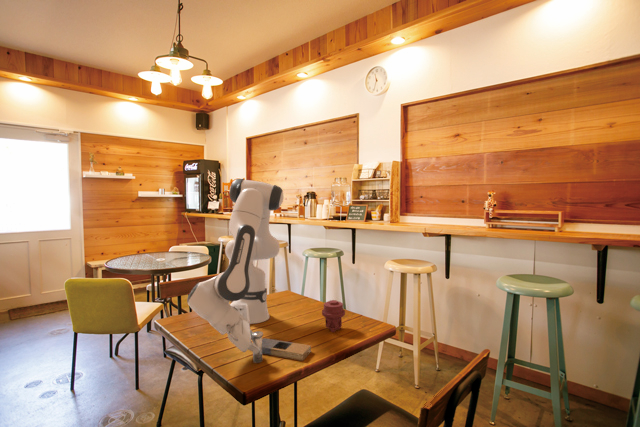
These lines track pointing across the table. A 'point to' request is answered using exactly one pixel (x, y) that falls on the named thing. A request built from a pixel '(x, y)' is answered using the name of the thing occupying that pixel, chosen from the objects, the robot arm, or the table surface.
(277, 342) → the two-tone slotted plate
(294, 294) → the table surface
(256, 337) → the metal peg
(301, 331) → the table surface
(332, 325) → the mechanical component
